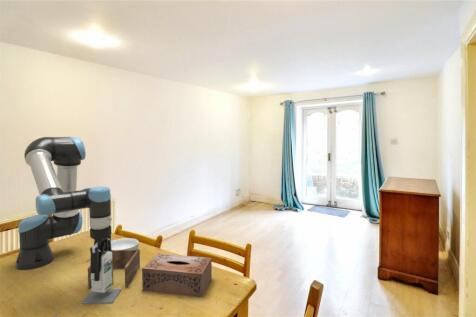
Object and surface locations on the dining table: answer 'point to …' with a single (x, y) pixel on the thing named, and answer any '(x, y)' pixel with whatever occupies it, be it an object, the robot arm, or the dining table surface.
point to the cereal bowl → (124, 244)
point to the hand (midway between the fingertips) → (102, 282)
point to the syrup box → (104, 272)
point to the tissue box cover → (177, 275)
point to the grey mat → (101, 297)
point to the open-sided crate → (123, 264)
